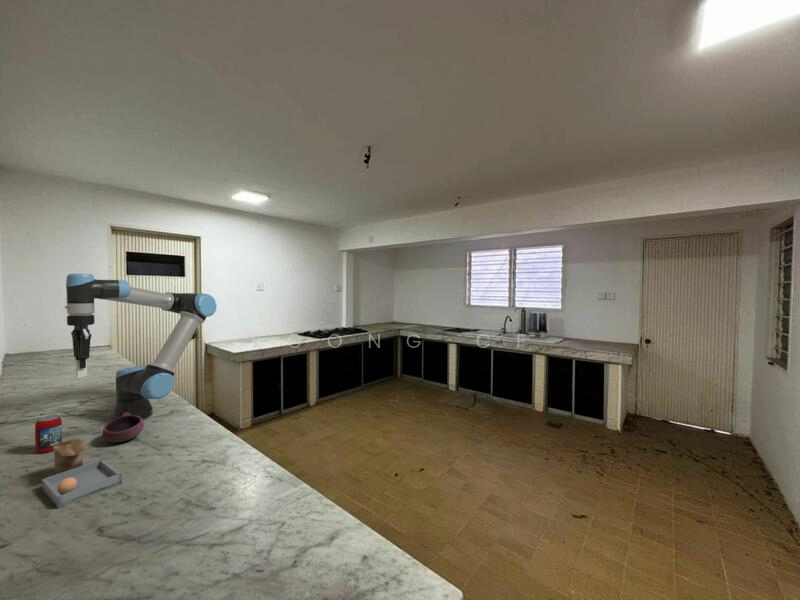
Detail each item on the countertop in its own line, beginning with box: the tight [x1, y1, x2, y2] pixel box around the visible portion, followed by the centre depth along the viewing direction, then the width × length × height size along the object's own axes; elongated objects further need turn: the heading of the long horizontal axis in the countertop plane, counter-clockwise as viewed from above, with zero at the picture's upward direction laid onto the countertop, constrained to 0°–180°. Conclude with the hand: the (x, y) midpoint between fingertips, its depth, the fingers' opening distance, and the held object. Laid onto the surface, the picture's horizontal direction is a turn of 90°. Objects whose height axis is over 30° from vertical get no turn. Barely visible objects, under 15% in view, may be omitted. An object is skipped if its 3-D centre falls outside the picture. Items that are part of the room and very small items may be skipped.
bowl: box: [101, 412, 145, 443], centre depth 132 cm, size 16×13×8 cm
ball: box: [58, 478, 77, 493], centre depth 96 cm, size 4×4×4 cm
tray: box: [41, 458, 123, 509], centre depth 100 cm, size 14×16×3 cm
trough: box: [53, 437, 89, 475], centre depth 106 cm, size 6×11×10 cm, turn 56°
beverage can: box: [34, 414, 63, 454], centre depth 122 cm, size 7×7×12 cm
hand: (81, 376), depth 126 cm, fingers closed
